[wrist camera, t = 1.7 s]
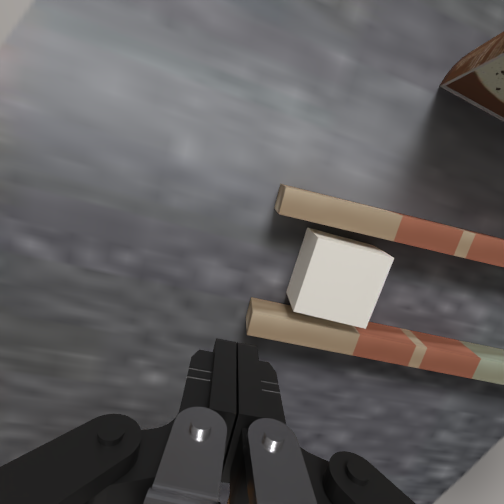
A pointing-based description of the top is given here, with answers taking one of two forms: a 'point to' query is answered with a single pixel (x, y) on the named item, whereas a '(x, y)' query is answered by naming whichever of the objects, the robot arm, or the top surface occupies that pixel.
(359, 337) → the channel
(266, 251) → the top surface
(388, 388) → the top surface
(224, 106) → the top surface
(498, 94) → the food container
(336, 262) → the ivory block
